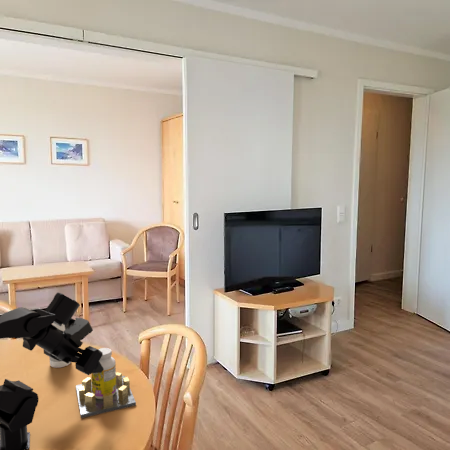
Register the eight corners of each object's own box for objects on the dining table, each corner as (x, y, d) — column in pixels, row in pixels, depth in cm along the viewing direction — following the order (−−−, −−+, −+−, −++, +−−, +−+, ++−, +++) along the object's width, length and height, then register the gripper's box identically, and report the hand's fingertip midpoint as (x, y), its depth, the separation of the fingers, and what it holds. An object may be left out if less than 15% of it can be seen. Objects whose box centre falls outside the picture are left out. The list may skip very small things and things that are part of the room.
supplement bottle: (88, 393, 117) (86, 350, 115) (109, 385, 121) (108, 344, 120) (98, 403, 112) (96, 358, 110) (120, 394, 116) (119, 351, 115)
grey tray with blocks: (135, 405, 113) (135, 391, 112) (81, 418, 107) (80, 403, 106) (124, 378, 127) (124, 366, 127) (75, 388, 121) (75, 375, 121)
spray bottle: (48, 369, 133) (45, 316, 131) (51, 359, 139) (48, 309, 137) (70, 366, 135) (68, 314, 132) (72, 357, 141) (70, 307, 139)
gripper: (95, 320, 101) (130, 347, 111) (52, 305, 111) (87, 331, 122) (67, 362, 95) (107, 387, 106) (25, 342, 106) (65, 366, 116)
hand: (91, 365), depth 112 cm, fingers open, 9 cm apart
